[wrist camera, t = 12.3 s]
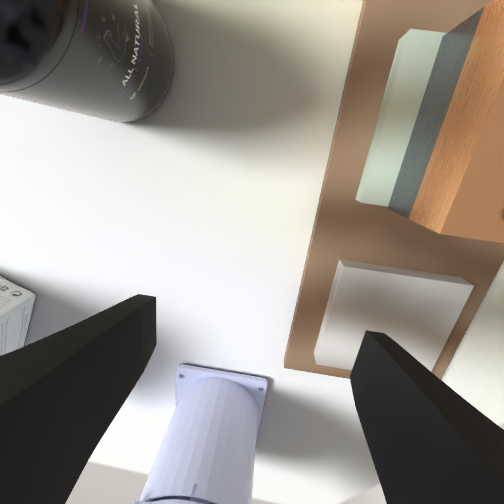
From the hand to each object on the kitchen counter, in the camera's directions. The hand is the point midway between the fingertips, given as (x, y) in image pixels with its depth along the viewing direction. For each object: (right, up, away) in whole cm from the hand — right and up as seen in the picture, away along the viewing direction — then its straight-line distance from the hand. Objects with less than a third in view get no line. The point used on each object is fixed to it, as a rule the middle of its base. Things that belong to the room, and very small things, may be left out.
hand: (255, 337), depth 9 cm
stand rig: (+10, +4, +8) cm, 14 cm away
